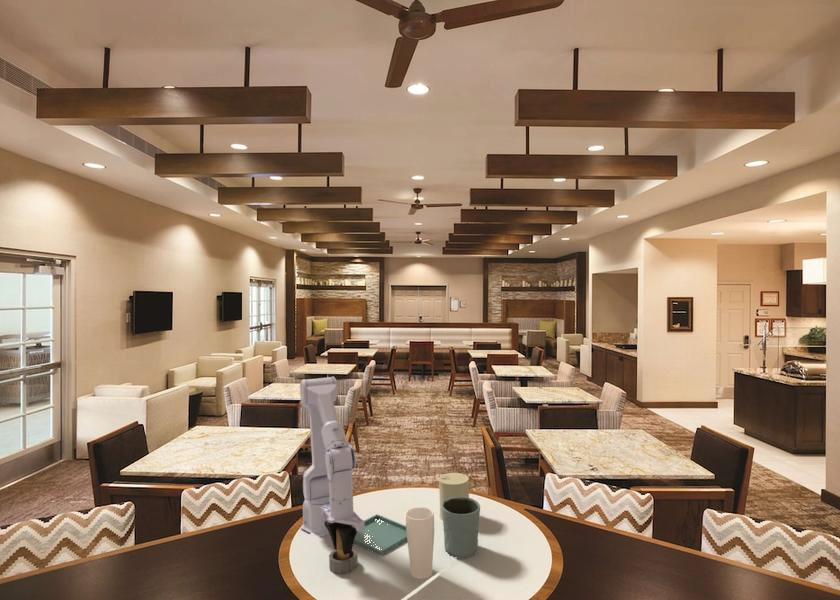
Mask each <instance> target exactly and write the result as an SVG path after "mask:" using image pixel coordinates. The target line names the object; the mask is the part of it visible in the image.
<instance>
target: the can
mask: <svg viewBox="0 0 840 600" xmlns="http://www.w3.org/2000/svg"><path fill="white" fill-rule="evenodd" d="M469 481H470V477H469V476H468V475H466V474H465V473H459V472H446V473H443V474H441V475H439V477H438V489H439V491H438V493H439V515H438V516H439V518H440V520H441V521H443V516H442V503H443V502H444V501H445V500H447V499H449V498H453V497H467V498H470V485H469V484H470V482H469Z"/></svg>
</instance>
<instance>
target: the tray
mask: <svg viewBox="0 0 840 600" xmlns="http://www.w3.org/2000/svg"><path fill="white" fill-rule="evenodd" d="M375 519H377V520H379V519H380V521H379V522H378V523H377V520H376V521H375ZM381 520H382V521H384V522H382V523H381ZM364 521H365V529H363V530H361V531H359V532H358V531H357V533H356V536H355V539H354V543H353V544H356V545H358V546H360V547H362V548H364V549H366V548H367V549H366V550H368V549H369V550H368V551H370V550H371V551H370V552H372V551H373V552H372V553H374V552H375V553H374V554H376V553H377V554H376V555H378V554H379V555H378V556H380V555H381V556H383V555H385V554H386V553H388V552H390V551H391V550H393V549H395V548H396V547H398V546H399V545H401V544H403V543H404V542H408V541H407V532H406V524H405V525H404V524H402V523H399V522H398V521H394V520H393V519H390V518H388V517H386V516H384V515H383V516H382V515H380V514H378V513H377V514H375V515H372V516H370V517H369V518H366V519H365V520H364ZM379 523H381V524H380V525H379ZM387 524H388V525H387ZM368 530H369V531H368ZM365 533H366V534H365ZM367 534H368V536H369V535H370V538H371V539H370V538H369V537H368V539H367V540H369V539H370V542H371V543H369V541H368V542H366V543H365V541H367V540H365V539H366V538H367V537H366V538H364V537H365V536H366V535H367ZM364 535H365V536H364ZM372 536H373V537H372ZM364 540H365V541H364ZM371 540H372V541H371ZM373 542H374V543H373ZM367 543H369V544H367ZM375 544H376V545H375ZM371 545H372V546H371ZM373 545H374V546H373ZM376 546H378V547H377V548H379V547H380V550H379V549H377V548H375V547H376ZM381 549H382V550H381Z"/></svg>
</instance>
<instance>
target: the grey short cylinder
mask: <svg viewBox="0 0 840 600" xmlns="http://www.w3.org/2000/svg"><path fill="white" fill-rule="evenodd" d="M358 558H359V557H358V551H357V550H356V549H354V547H352V552H350V553H349V559H348V560H343V561H340V560H337V550H335V549H334V550H332V551H331V552H330V553H329V555H328V563H329V564H328V565H329V566H328V567H329V570H330V572H332V573H333V574H337V575H345V574H349V573H351V572H354V571H355V570H356V569H357V567H358V566H359V565H358V563H359V561H358Z"/></svg>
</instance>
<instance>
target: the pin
mask: <svg viewBox="0 0 840 600" xmlns="http://www.w3.org/2000/svg"><path fill="white" fill-rule="evenodd" d="M339 528H340V527H339ZM336 538H337V560H340V561H343V560H348V559H349V553H348V554H346V555H345V554H344V553H343V548H342V540H341V536H340V534H339V532H338V528H337V530H336Z"/></svg>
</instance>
